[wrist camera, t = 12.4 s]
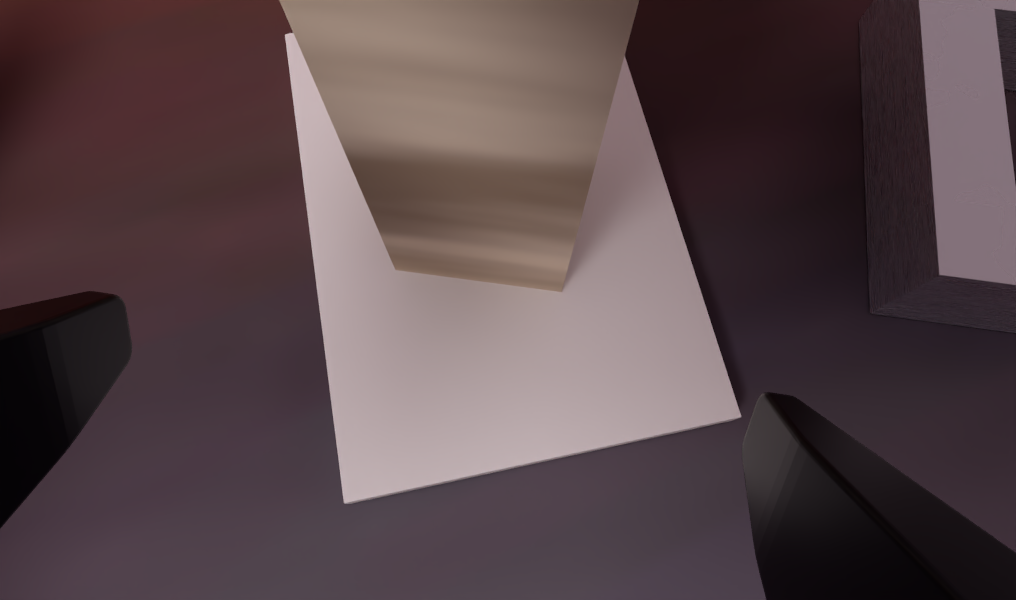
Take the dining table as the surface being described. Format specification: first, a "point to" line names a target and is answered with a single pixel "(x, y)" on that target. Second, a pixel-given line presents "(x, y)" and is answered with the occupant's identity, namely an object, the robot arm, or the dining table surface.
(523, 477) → the dining table surface
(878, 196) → the socket
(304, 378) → the dining table surface
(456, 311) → the tile
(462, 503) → the dining table surface
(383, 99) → the wooden peg
